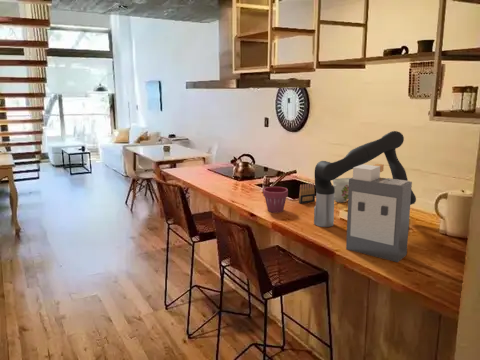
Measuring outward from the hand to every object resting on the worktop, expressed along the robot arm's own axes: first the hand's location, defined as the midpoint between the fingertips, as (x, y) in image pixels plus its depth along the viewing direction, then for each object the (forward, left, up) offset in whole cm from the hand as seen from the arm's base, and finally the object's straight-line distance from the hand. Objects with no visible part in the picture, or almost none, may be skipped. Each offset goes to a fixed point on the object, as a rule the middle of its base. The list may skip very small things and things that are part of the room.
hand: (385, 177), depth 198 cm
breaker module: (0, -16, +4) cm, 16 cm away
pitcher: (-45, +43, -29) cm, 69 cm away
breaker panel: (+6, -21, -28) cm, 36 cm away
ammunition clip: (-60, +29, -29) cm, 73 cm away
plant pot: (-65, +3, -29) cm, 71 cm away
